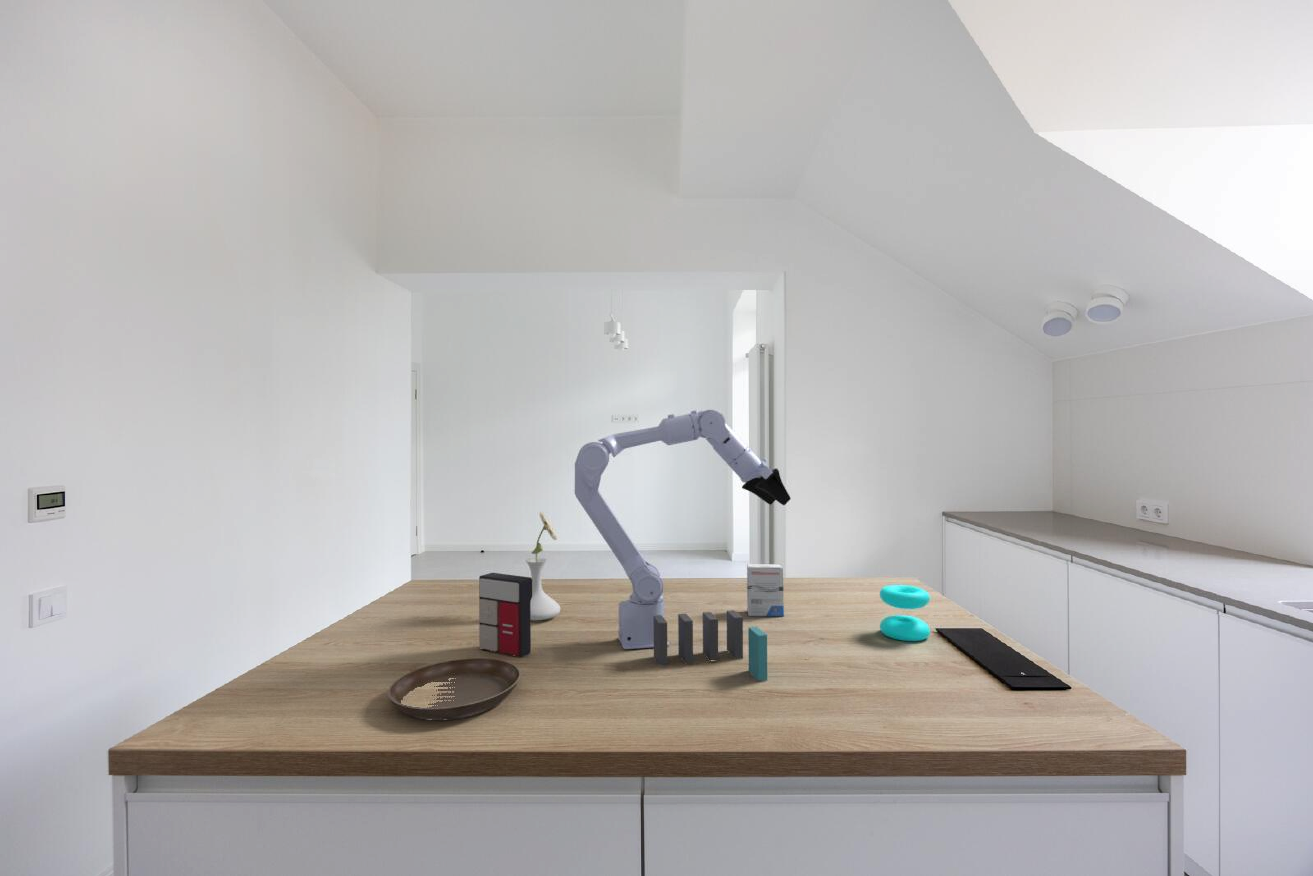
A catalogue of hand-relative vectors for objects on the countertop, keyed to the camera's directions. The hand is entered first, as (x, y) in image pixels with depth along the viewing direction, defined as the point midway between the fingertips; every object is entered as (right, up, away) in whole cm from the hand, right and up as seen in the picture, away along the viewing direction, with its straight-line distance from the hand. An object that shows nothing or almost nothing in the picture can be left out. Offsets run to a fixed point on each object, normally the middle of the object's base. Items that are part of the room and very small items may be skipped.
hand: (780, 501), depth 130 cm
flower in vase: (-55, -30, +17) cm, 65 cm away
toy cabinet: (-57, -30, -7) cm, 65 cm away
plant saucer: (-59, -30, -29) cm, 73 cm away
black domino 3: (-11, -29, -10) cm, 33 cm away
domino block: (-16, -29, -11) cm, 35 cm away
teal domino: (-8, -29, -21) cm, 37 cm away
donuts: (+27, -29, +1) cm, 40 cm away
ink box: (0, -29, +18) cm, 34 cm away
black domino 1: (-26, -29, -13) cm, 41 cm away
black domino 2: (-21, -29, -12) cm, 38 cm away
